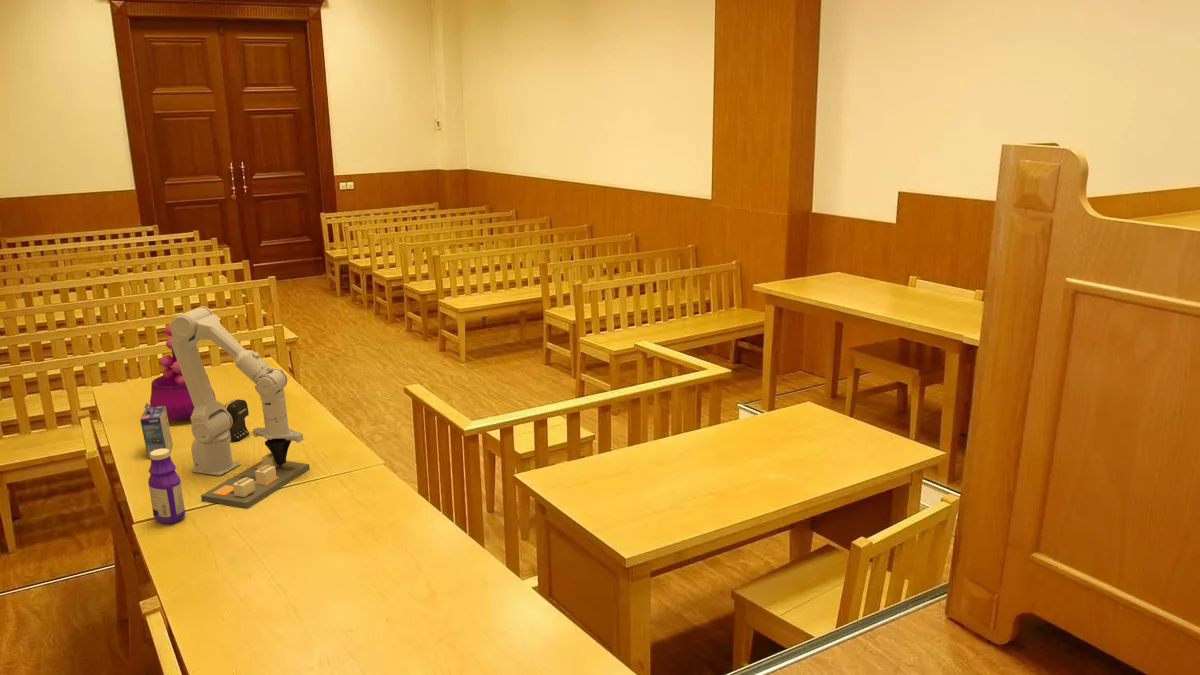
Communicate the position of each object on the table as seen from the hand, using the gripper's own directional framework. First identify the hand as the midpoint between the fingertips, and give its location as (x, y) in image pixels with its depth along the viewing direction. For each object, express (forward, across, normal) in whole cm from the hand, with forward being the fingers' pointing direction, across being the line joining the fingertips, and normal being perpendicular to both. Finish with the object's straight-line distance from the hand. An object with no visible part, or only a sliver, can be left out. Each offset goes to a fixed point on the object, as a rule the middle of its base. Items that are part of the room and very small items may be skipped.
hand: (281, 463), depth 230 cm
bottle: (+3, -8, -30) cm, 31 cm away
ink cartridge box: (+3, -43, +2) cm, 43 cm away
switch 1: (+1, +2, -16) cm, 16 cm away
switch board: (+3, -1, -8) cm, 9 cm away
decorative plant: (+3, -58, +27) cm, 64 cm away
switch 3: (+1, +2, -8) cm, 8 cm away
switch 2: (+1, -3, 0) cm, 3 cm away
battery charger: (+3, -28, +17) cm, 33 cm away
